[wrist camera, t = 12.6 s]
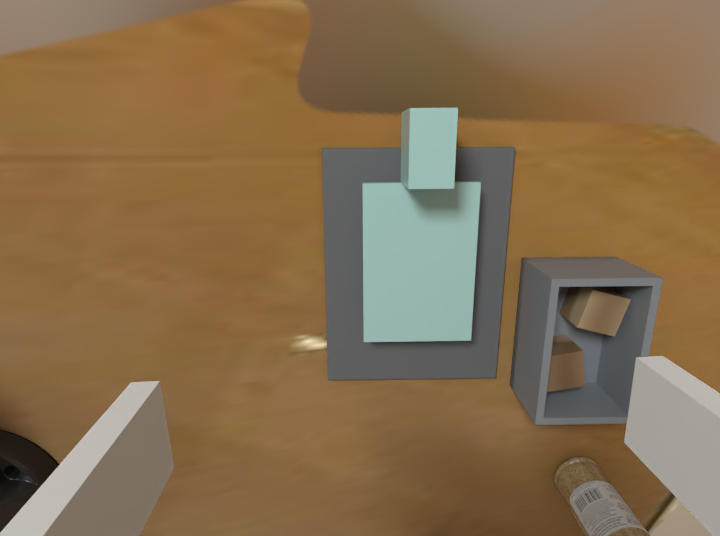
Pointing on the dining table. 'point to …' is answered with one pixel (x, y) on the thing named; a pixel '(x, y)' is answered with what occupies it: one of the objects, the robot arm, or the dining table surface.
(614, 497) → the sprinkles bottle
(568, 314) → the cube
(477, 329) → the mat
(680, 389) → the robot arm
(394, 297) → the block with upright tab
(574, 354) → the cube
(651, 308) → the tub
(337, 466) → the dining table surface
